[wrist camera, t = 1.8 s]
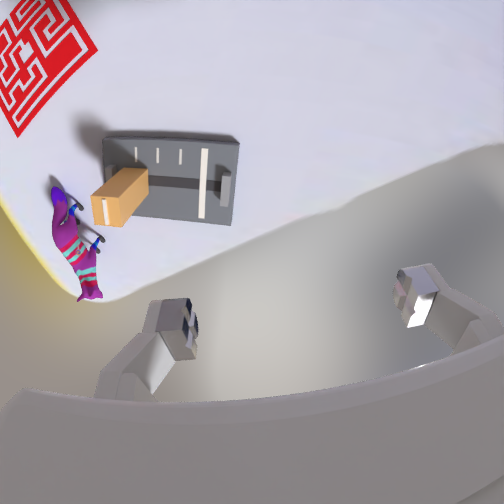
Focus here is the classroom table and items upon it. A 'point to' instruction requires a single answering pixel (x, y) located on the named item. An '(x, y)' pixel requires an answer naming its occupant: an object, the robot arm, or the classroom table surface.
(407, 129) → the classroom table surface
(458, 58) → the classroom table surface
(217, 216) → the fader board
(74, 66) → the maze puzzle
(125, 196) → the fader cap
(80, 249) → the purple fox figurine
